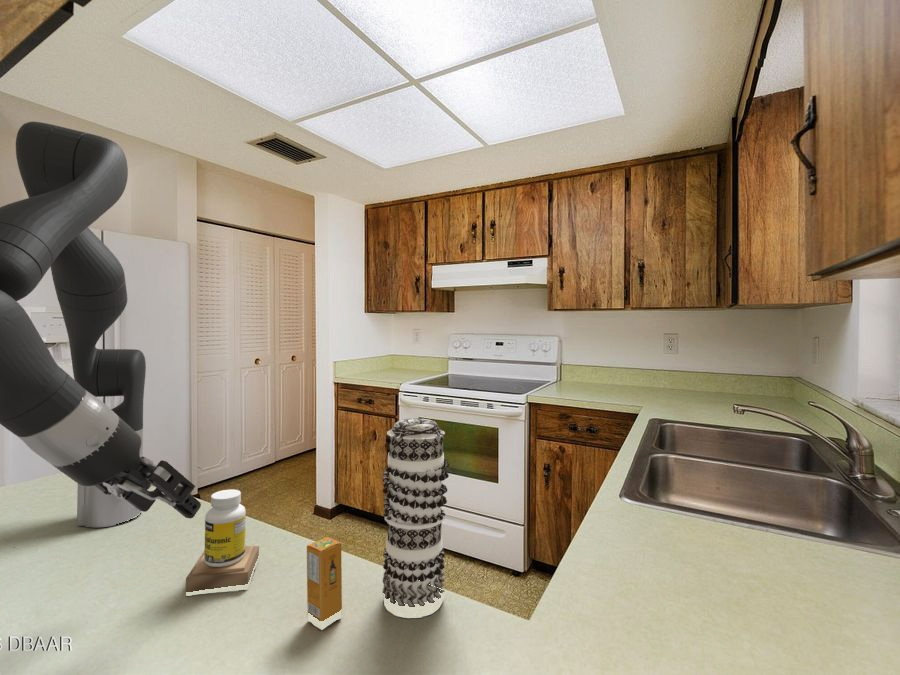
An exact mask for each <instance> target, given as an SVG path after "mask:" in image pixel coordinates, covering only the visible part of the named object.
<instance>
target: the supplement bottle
mask: <svg viewBox="0 0 900 675" xmlns="http://www.w3.org/2000/svg"><path fill="white" fill-rule="evenodd" d="M241 501H242V493H241V491H240V490H239V489H224V490H219V491H217V492H214V493H212V494H211V496H210V506H211V507H210V509H208V511H207V512H206V514H205V520H204V551H205V563H206V564H207V565H208V566H212V567H224V566H229V565H232V564H234V563H236V562H238V561H239V560H241V559H242V558H243V556H244V554H245V546H246V515H247V513H246V511H247V510H246V507H245V506H244V505H242V504H241Z"/></svg>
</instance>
